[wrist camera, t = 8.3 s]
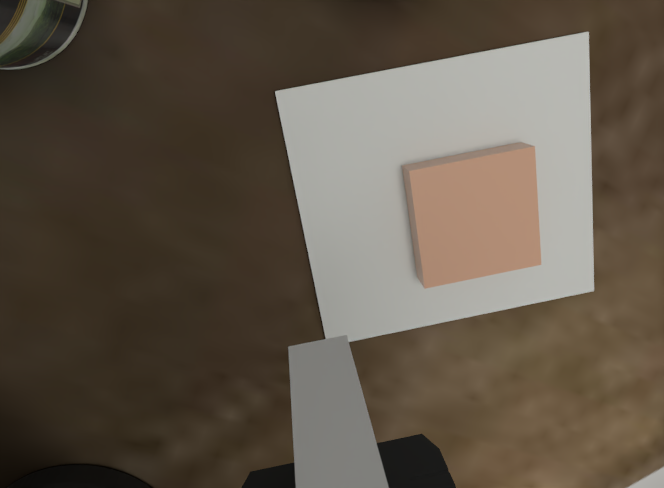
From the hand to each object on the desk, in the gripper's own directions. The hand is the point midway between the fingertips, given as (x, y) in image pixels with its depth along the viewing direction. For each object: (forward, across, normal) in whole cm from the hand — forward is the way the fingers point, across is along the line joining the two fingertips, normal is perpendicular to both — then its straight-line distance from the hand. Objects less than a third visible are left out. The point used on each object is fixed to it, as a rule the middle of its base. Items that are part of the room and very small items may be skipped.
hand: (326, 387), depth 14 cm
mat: (+23, +10, -2) cm, 25 cm away
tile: (+21, +7, -3) cm, 23 cm away
